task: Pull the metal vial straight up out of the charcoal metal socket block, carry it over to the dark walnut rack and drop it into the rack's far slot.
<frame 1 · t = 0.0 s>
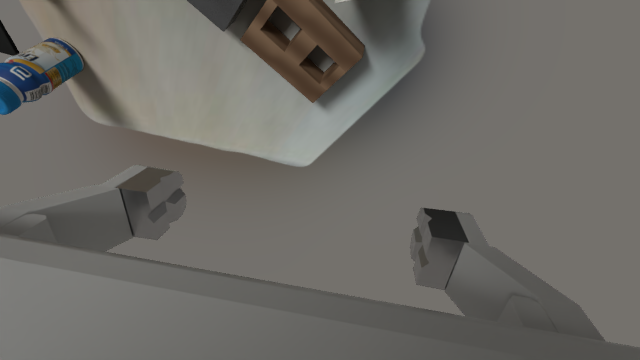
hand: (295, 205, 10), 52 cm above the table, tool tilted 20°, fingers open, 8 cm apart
walnut rack: (306, 37, 57), on the table
beverage bottle: (67, 54, 70), on the table
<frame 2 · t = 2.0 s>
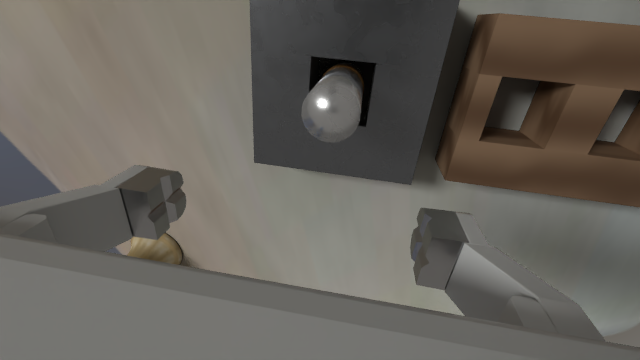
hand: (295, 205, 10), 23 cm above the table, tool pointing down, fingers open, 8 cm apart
metal vial: (344, 82, 30), resting in socket block
socket block: (344, 82, 30), on the table
walnut rack: (549, 106, 29), on the table
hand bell: (158, 247, 46), on the table
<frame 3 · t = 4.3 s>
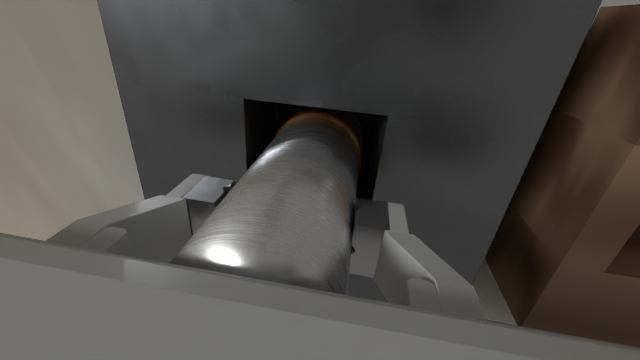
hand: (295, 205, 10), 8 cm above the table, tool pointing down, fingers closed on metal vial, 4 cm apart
metal vial: (325, 133, 17), resting in socket block, touching gripper
socket block: (325, 133, 17), on the table
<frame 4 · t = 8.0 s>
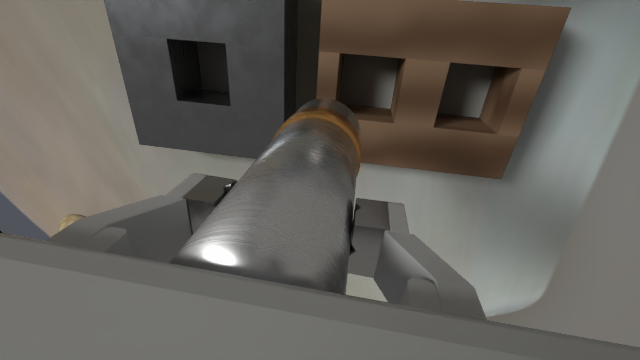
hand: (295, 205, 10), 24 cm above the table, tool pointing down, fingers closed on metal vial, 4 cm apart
metal vial: (324, 134, 17), point 16 cm above the table, touching gripper
socket block: (223, 66, 32), on the table
walnut rack: (413, 83, 30), on the table
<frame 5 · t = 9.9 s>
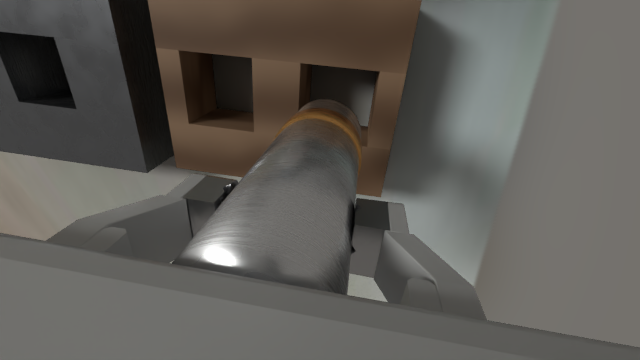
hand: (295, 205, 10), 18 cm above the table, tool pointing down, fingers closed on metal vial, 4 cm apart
metal vial: (325, 134, 17), point 11 cm above the table, touching gripper
socket block: (86, 63, 28), on the table
walnut rack: (291, 87, 26), on the table
when the fingers open (9 cm above the table, at t = 11.8 s): metal vial drops 1 cm, resting in walnut rack.
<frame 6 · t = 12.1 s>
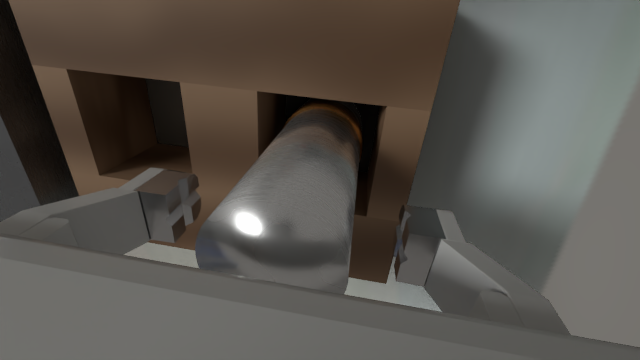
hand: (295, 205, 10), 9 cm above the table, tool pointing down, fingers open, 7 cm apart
metal vial: (329, 126, 18), resting in walnut rack
walnut rack: (258, 117, 18), on the table
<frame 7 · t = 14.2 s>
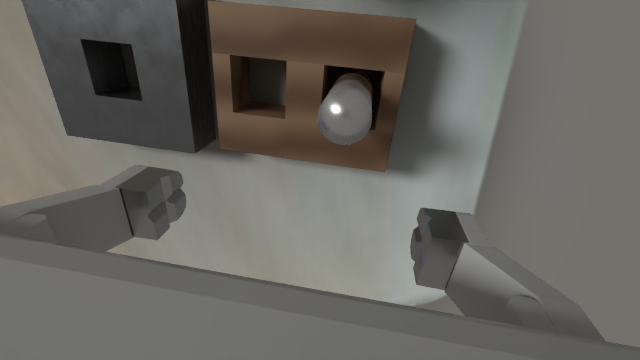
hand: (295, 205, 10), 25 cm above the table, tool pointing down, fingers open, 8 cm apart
metal vial: (353, 89, 32), resting in walnut rack
socket block: (145, 65, 35), on the table
walnut rack: (312, 84, 33), on the table
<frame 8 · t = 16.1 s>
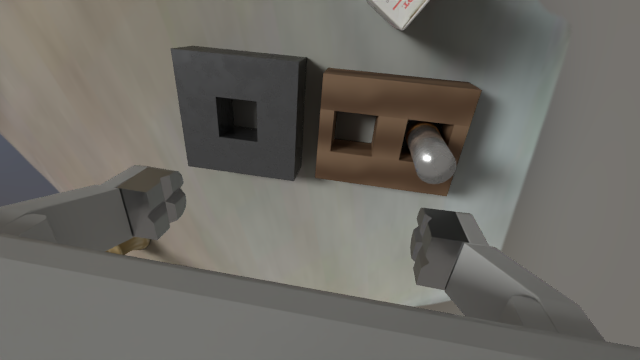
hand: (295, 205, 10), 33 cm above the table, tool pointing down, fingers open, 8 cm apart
metal vial: (419, 130, 41), resting in walnut rack
socket block: (250, 110, 44), on the table
walnut rack: (387, 126, 42), on the table
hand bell: (131, 232, 60), on the table
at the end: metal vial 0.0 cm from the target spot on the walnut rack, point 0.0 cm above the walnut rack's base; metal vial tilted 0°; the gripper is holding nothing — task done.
